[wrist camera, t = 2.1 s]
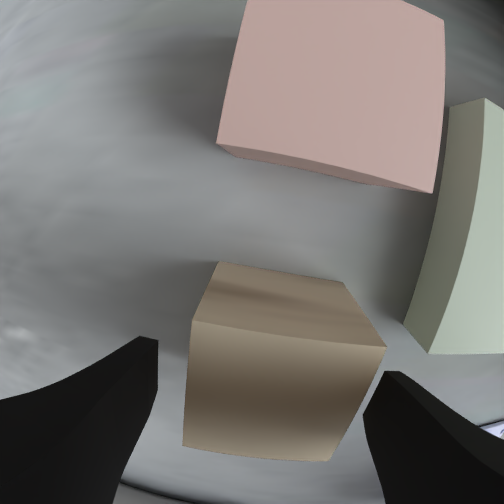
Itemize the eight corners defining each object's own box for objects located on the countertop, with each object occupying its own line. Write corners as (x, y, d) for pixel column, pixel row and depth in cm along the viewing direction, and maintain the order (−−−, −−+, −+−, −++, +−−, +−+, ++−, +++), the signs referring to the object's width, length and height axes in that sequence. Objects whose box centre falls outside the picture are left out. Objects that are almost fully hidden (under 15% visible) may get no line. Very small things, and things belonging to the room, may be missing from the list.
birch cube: (311, 379, 13) (328, 461, 8) (204, 363, 13) (182, 445, 8) (342, 281, 12) (386, 347, 7) (218, 260, 12) (191, 320, 7)
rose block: (364, 183, 11) (432, 193, 6) (235, 157, 11) (215, 143, 6) (381, 68, 10) (443, 20, 5) (259, 39, 10) (257, -36, 5)
